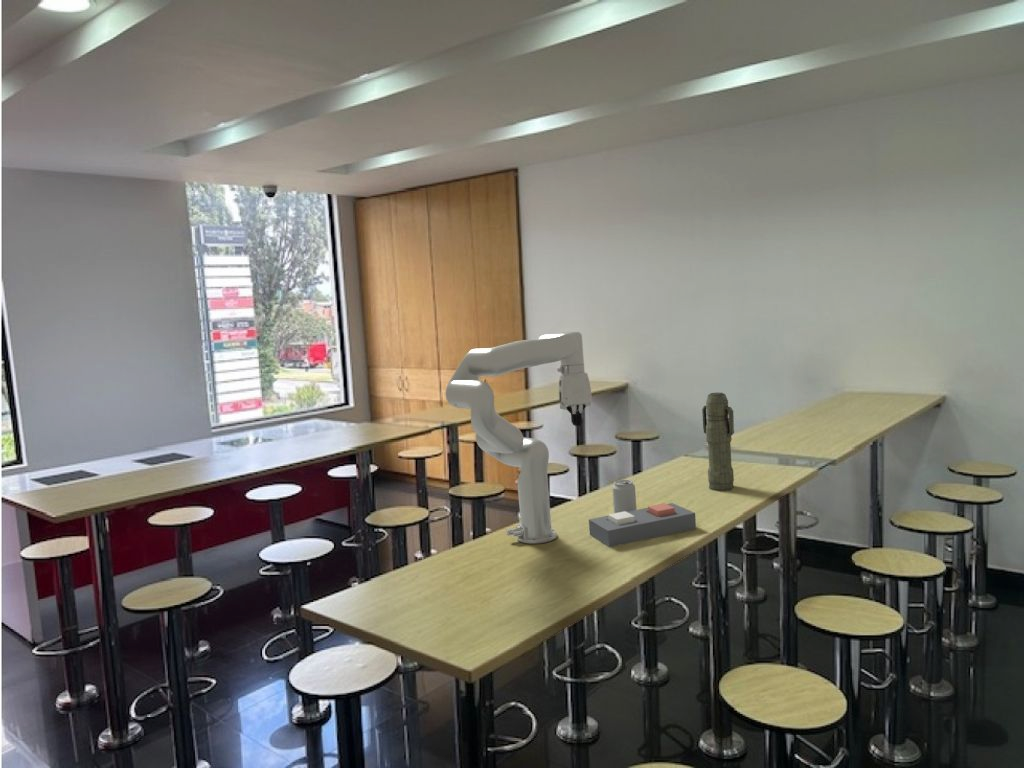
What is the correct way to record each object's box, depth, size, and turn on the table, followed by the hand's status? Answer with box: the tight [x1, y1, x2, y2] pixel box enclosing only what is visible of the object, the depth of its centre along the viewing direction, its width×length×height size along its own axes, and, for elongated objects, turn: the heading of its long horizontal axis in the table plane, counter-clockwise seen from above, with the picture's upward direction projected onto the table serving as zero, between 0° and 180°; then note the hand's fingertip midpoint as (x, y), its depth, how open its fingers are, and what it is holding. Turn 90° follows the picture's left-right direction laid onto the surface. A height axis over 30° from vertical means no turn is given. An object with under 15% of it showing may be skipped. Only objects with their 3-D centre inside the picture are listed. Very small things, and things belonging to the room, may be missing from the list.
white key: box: [607, 511, 635, 525], centre depth 220 cm, size 6×6×4 cm
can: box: [611, 479, 638, 514], centre depth 239 cm, size 8×8×12 cm
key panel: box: [588, 502, 697, 548], centre depth 223 cm, size 30×13×5 cm, turn 109°
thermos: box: [701, 392, 735, 492], centre depth 262 cm, size 9×12×35 cm
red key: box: [647, 502, 675, 517], centre depth 225 cm, size 6×6×4 cm
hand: (576, 425), depth 236 cm, fingers closed
